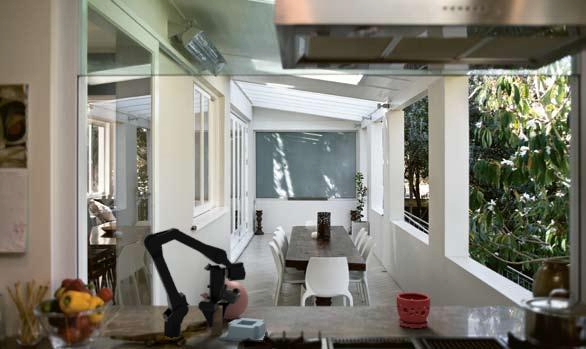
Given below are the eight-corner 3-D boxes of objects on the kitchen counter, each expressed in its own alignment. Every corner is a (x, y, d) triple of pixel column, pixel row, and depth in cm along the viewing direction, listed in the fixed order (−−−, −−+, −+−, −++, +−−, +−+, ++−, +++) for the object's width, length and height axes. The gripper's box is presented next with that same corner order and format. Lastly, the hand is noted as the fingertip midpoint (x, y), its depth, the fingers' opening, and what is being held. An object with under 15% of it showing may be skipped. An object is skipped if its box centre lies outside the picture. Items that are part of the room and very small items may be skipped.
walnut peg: (219, 335, 185) (219, 308, 186) (209, 334, 186) (209, 307, 187) (223, 332, 189) (224, 305, 189) (214, 331, 190) (214, 304, 190)
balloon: (204, 313, 219) (205, 277, 220) (250, 314, 218) (251, 278, 218) (195, 322, 204) (196, 283, 204) (244, 323, 202) (245, 284, 203)
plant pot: (389, 323, 204) (389, 294, 205) (414, 320, 210) (415, 291, 211) (411, 332, 193) (411, 300, 193) (437, 328, 199) (437, 297, 199)
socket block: (261, 343, 176) (261, 328, 176) (219, 339, 181) (219, 325, 181) (272, 334, 188) (273, 320, 188) (233, 330, 192) (233, 317, 192)
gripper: (226, 287, 177) (226, 332, 177) (246, 279, 195) (246, 320, 194) (198, 285, 180) (197, 330, 180) (220, 277, 198) (219, 317, 198)
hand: (216, 324), depth 188 cm, fingers open, 9 cm apart
